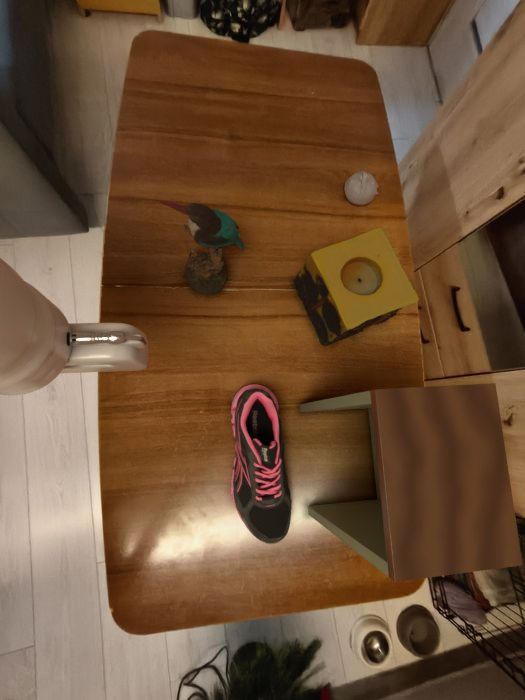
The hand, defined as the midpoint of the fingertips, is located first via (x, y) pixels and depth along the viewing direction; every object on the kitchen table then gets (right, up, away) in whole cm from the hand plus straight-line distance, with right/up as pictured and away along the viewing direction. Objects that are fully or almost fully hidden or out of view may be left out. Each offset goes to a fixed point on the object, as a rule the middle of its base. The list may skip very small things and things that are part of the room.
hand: (61, 363), depth 48 cm
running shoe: (+21, -19, +30) cm, 41 cm away
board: (+43, -13, +1) cm, 45 cm away
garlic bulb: (+42, +34, +43) cm, 69 cm away
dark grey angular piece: (+38, -18, +33) cm, 53 cm away
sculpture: (+11, +16, +35) cm, 40 cm away
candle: (+38, +11, +38) cm, 55 cm away
